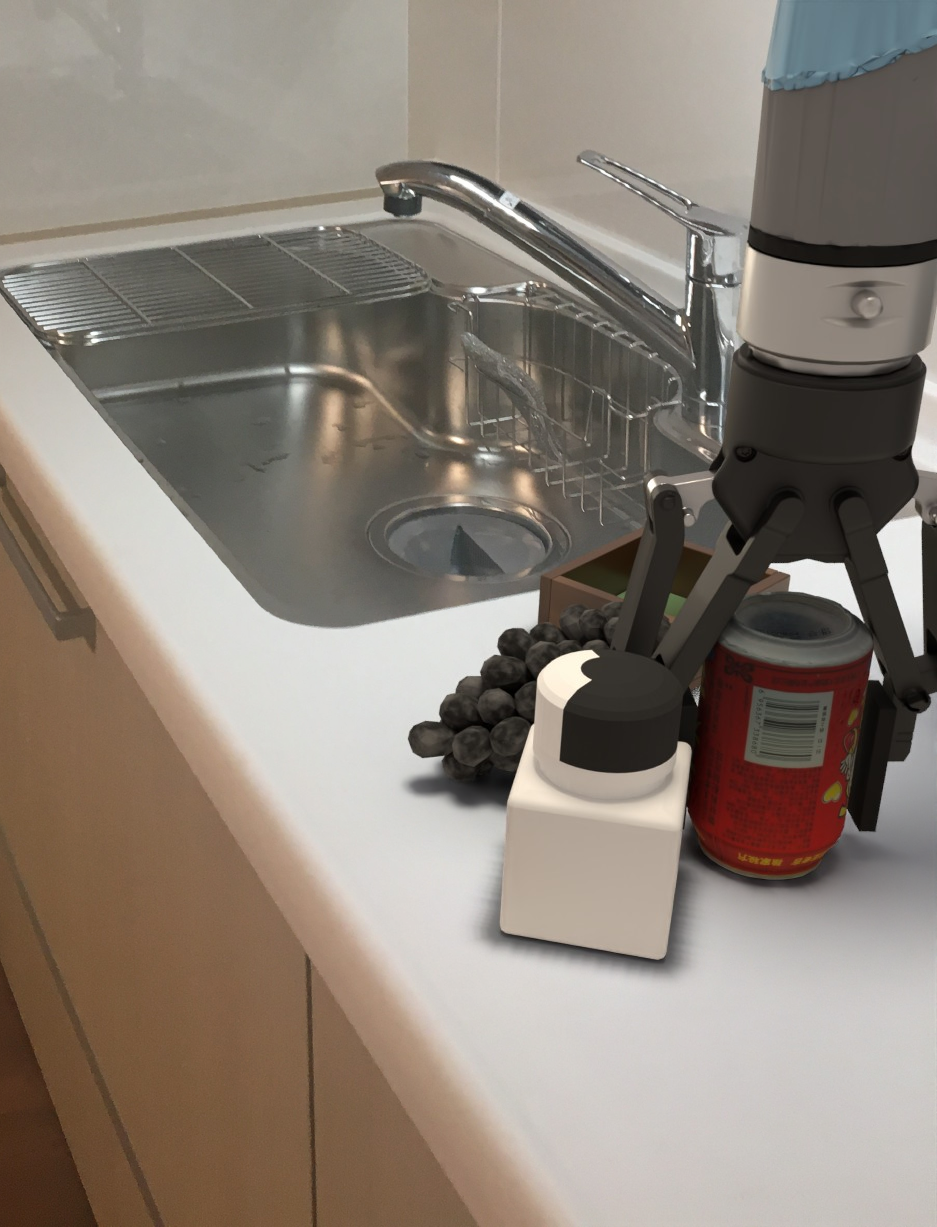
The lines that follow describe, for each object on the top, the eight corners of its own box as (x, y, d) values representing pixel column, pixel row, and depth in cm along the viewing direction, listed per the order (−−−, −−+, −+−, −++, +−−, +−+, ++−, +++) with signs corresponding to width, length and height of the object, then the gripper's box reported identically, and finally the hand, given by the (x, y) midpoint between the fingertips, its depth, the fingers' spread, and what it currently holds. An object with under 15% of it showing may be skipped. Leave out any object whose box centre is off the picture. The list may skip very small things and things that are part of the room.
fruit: (425, 647, 80) (713, 597, 82) (369, 627, 88) (633, 582, 90) (445, 823, 81) (729, 768, 84) (388, 786, 89) (648, 737, 92)
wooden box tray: (782, 637, 99) (791, 574, 97) (682, 696, 93) (690, 630, 91) (637, 586, 106) (643, 526, 104) (536, 637, 100) (540, 575, 98)
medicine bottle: (677, 872, 78) (704, 643, 73) (664, 964, 72) (692, 722, 67) (523, 848, 80) (538, 624, 75) (498, 935, 74) (512, 698, 69)
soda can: (863, 886, 76) (902, 647, 71) (706, 891, 77) (734, 652, 71) (810, 803, 83) (843, 577, 78) (666, 808, 83) (688, 583, 78)
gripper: (586, 380, 67) (550, 857, 77) (1134, 373, 65) (1024, 863, 75) (561, 326, 73) (530, 771, 83) (1056, 318, 71) (964, 774, 81)
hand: (764, 814), depth 79 cm, fingers open, 8 cm apart
